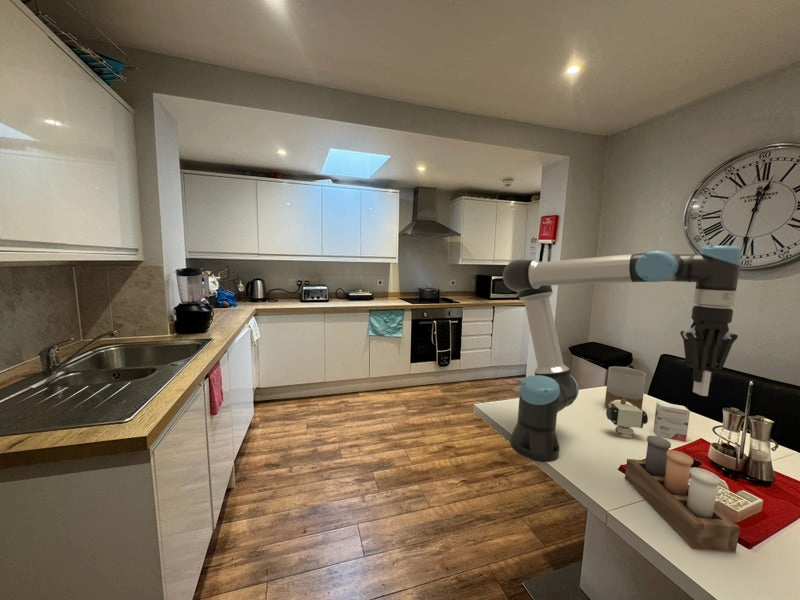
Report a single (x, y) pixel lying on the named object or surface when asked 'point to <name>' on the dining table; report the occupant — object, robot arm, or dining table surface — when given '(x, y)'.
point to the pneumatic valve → (626, 418)
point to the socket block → (683, 512)
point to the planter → (625, 386)
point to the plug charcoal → (656, 456)
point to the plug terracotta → (677, 472)
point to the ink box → (671, 421)
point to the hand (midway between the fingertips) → (700, 393)
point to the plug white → (702, 492)
